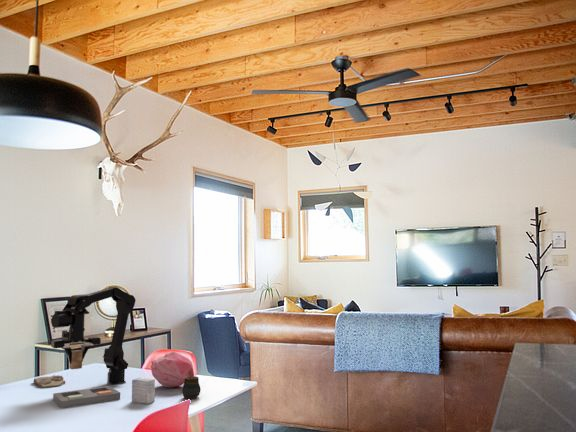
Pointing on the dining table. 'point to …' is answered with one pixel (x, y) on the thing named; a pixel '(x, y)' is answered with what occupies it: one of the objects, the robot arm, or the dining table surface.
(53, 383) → the fossil
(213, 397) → the dining table surface
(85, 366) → the dining table surface
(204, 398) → the dining table surface
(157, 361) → the decorative rock
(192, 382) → the mate gourd
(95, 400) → the socket plate
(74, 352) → the plug
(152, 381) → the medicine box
